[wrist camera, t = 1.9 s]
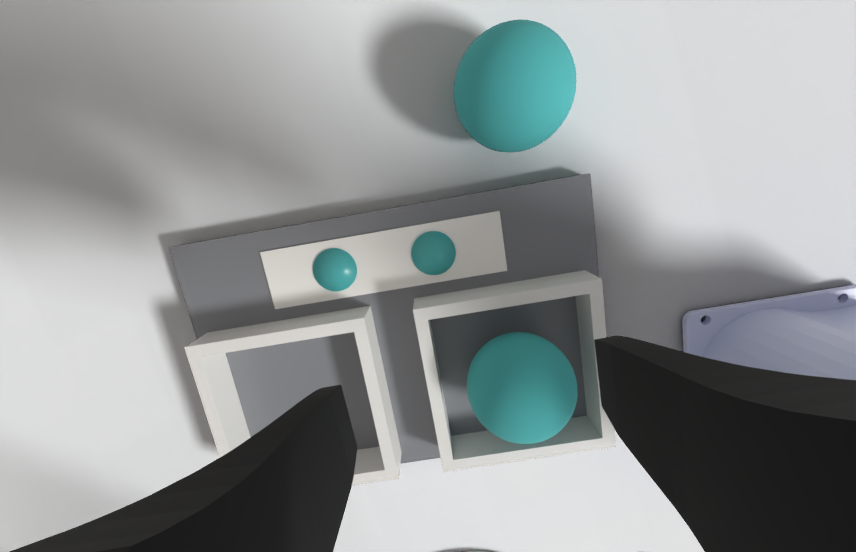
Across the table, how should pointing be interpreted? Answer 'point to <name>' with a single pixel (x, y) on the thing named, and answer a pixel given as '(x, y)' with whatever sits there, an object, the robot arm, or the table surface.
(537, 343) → the seated teal ball
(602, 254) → the table surface
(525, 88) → the loose teal ball
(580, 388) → the sorting tray
